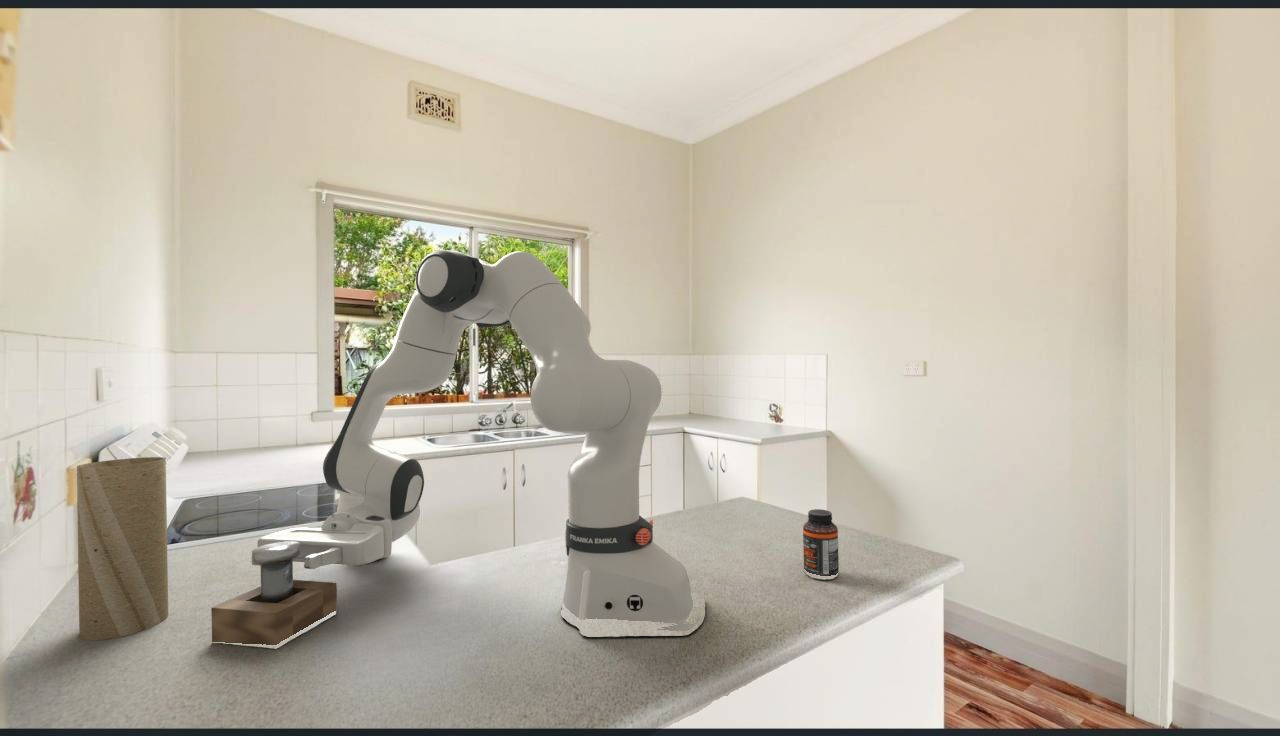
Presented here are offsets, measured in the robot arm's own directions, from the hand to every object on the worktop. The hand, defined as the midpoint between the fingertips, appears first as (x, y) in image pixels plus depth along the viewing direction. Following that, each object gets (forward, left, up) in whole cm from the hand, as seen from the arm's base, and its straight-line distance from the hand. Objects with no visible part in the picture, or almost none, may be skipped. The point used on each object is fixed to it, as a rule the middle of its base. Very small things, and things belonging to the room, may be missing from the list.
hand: (281, 562), depth 83 cm
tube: (+25, +4, -10) cm, 27 cm away
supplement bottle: (-81, -33, -10) cm, 88 cm away
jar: (+9, -29, -10) cm, 32 cm away
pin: (0, +1, -10) cm, 10 cm away
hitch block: (0, +1, -10) cm, 10 cm away
